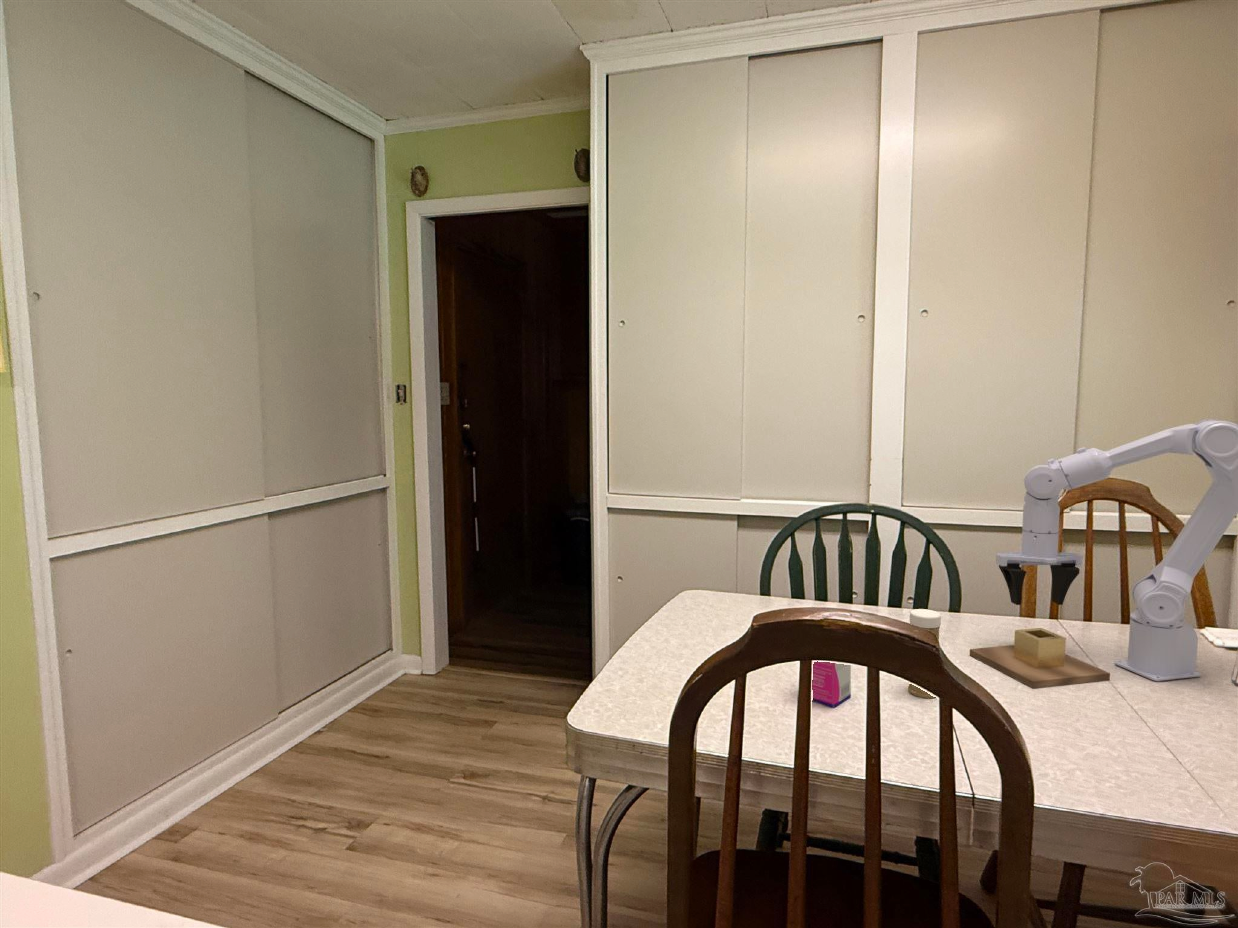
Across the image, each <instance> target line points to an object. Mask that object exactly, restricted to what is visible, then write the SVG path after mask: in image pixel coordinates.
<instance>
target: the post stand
mask: <svg viewBox="0 0 1238 928" xmlns="http://www.w3.org/2000/svg"><path fill="white" fill-rule="evenodd" d="M1038 638H1039V637H1038ZM969 656H970V657H972V658H974V659H975V660H977V659H978V661H979V662H982V663H984V664H986V665H987V666H989V667H990V668H993V669H994V670H997V671H999V672H1001V674H1005V675H1006V676H1008V677H1011V678H1012V679H1014V680H1016V681H1017V682H1020V683H1021V684H1023V685H1026V686H1027V687H1029V688H1031V689H1038V688H1040V689H1041V688H1049V687H1057V686H1058V687H1059V686H1067V685H1069V686H1070V685H1077V684H1085V683H1086V684H1087V683H1094V682H1095V683H1096V682H1103V681H1104V682H1105V681H1110V680H1111V673H1110V672H1109V671H1106V670H1105V669H1101V668H1099V667H1097V666H1095V665H1093V664H1090V663H1088V662H1085V661H1083V660H1080V659H1078V658H1076V657H1074V656H1072V655H1069V654H1066V653H1065V662H1064V666H1060V667H1050V668H1040V669H1037V668H1035V667H1033V666H1031V665H1029V664H1026V663H1024V662H1022V661H1020V660H1018V659H1016V658H1014V644H1011V645H1010V644H1009V645H998V646H989V647H978V648H976V647H975V648H970V649H969Z"/></svg>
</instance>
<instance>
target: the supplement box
mask: <svg viewBox="0 0 1238 928" xmlns="http://www.w3.org/2000/svg"><path fill="white" fill-rule="evenodd" d="M851 666H852V665H844V664H836V663H830V662H818V661H817V662H814V664H813V680H812V690H813V701H812V702H814V703H817V704H820V705H823V706H826V707H830V708H831V709H835V708H836V707H837V706H839V705H840V704H843V703H844V702H846V701H847V700H849V699H851V697H852V695H851V689H852V687H851V686H852V685H851V679H852V678H851V674H852V673H851V672H852V671H851Z"/></svg>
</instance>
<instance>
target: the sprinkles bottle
mask: <svg viewBox="0 0 1238 928" xmlns="http://www.w3.org/2000/svg"><path fill="white" fill-rule="evenodd" d="M941 623H942V615H941V614H940V613H939V612H938V611H935V610H932V609H925V608H918V609H917V608H915V609H912V610H910V612H909V625H910V624H912V625H914V626H918V627H921V628H923V629H926V630H929V631H930V632H933V633H934V634H935V635H936V636H937V638H938V639H939V640H940V628H941ZM907 687H908V688H907V691H908V692H909V693H910V694H911V695H913V696H914V697H919V698H923V699H924V698H925V699H931V698H934V697H933V696H931V695H930V694H928V693H927V692H925V691H923V690H921V689H920V688H918V687H916V686H914V685H912V684H909V683H908V686H907Z"/></svg>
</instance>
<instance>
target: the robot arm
mask: <svg viewBox="0 0 1238 928" xmlns="http://www.w3.org/2000/svg"><path fill="white" fill-rule="evenodd" d="M1169 453H1170V454H1178V455H1179V454H1181V455H1186V456H1187V455H1189V456H1190V455H1191V456H1193V455H1194V454H1195V455H1196V456H1197V457H1198V458H1199V459H1200V460H1201V461H1202V462H1203V463H1204V466H1205V467H1206V469H1207V472H1208V473H1209V474H1210V476H1211V479H1212V483H1211V484H1210V486H1209V487H1208V489H1207V490H1206V491H1205V494H1204V495H1203V496H1202V498H1201V499H1200V501H1199V503H1198V504H1197V506H1196V508H1195V509H1194V510H1193V512H1192V513H1191V515H1190V517H1189V518H1188V520H1187V522H1186V523H1184V526H1183V528H1182V529H1181V531H1180V532H1179V534H1178V535H1177V536H1176V538H1175V539H1174V541H1173V543H1172V544H1171V546H1170V547H1169V549H1168V551H1167V552H1166V553H1165V555H1164V557H1163V558H1162V560H1161V562H1159V563H1158V564H1157V565H1155V566H1154V567H1153V568H1152V570H1151V571H1150V572H1149V574H1148V575H1146V576H1144V578H1142V579H1140V580H1138V581H1137V582H1136V583H1135V584H1134V585H1133V586H1132V587H1133V588H1132V591H1131V596H1132V599H1133V601H1134V603H1135V604H1136V606H1137V607H1136V609H1135V610H1134V611H1133V612H1131V613H1130V619H1129V630H1128V631H1129V634H1128V646H1127V647H1128V649H1127V659H1124V660H1115V661H1113V662H1114V664H1115V665H1116V666H1118V667H1121V668H1123V669H1125V670H1128V671H1130V672H1132V673H1135V674H1138V675H1140V676H1141V677H1144V678H1147V679H1150V680H1151V681H1155V682H1161V681H1170V680H1177V679H1179V680H1180V679H1188V678H1189V679H1190V678H1197V677H1201V673H1200V672H1198V671H1196V669H1197V658H1198V646H1199V645H1198V643H1199V639H1198V633H1197V631H1196V630H1195V628H1194V627H1193V626H1192V625H1191V624H1190V623H1189V622H1187V621H1185V620H1183V618H1184V615H1185V614H1186V601H1187V599H1188V597H1189V596H1190V595H1191V591H1192V587H1193V583H1194V580H1195V577H1196V576H1197V574H1198V573H1199V571H1200V570H1201V569H1202V567H1203V566H1204V564H1205V563H1206V561H1207V559H1208V558H1209V557H1210V556H1211V553H1212V552H1213V550H1214V549H1215V547H1216V546H1217V544H1219V542H1220V540H1221V538H1222V537H1223V535H1224V534H1225V533H1226V531H1227V530H1228V528H1229V527H1230V525H1231V524H1232V522H1233V521H1234V519H1235V518H1236V516H1237V515H1238V424H1236V423H1234V422H1231V421H1225V420H1219V419H1214V418H1213V419H1212V418H1209V419H1202V420H1201V421H1198V422H1196V423H1187V424H1183V425H1179V426H1175V427H1171V428H1166V429H1164V430H1161V431H1158V432H1155V433H1153V434H1149V435H1147V436H1144V437H1142V438H1141V437H1140V438H1139V439H1136V440H1133V441H1131V442H1127V443H1125V444H1123V445H1120V446H1117V447H1114V448H1112V449H1109V450H1106V451H1105V450H1101V449H1099V448H1096V447H1091V448H1088V449H1086V447H1085V446H1083V447H1080V448H1078V449H1076V453H1074V454H1071V455H1067V456H1064V457H1062V458H1059V459H1055V458H1050V459H1048V460H1047V463H1048V465H1047V464H1037V465H1035V466H1033V467H1031V468H1030V469H1029V470H1028V471H1027V472H1026V474H1025V477H1024V478H1023V482H1024V484H1023V485H1024V488H1025V490H1026V492H1025V494H1024V502H1025V503H1024V504H1023V507H1022V509H1023V510H1022V528H1021V529H1022V532H1021V550H1020V551H1015V552H1014V551H1013V552H1005V553H1003V552H1002V553H996V559H995V560H996V561H995V564H996V565H998V568H999V570H1000V572H1001V574H1002V576H1003V578H1004V580H1005V582H1006V586H1007V589H1008V594H1009V598H1010V603H1012V604H1014V605H1016V606H1021V605H1022V600H1023V599H1022V598H1023V597H1022V596H1023V585H1024V580H1025V577H1026V574H1027V571H1026V570H1024V569H1022V567H1021V566H1049V567H1050V573H1051V581H1052V585H1051V586H1052V588H1051V589H1052V590H1051V600H1052V602H1053V603H1054V604H1056V605H1059V606H1063V605H1064V601H1065V598H1066V595H1067V594H1068V591H1069V589H1070V587H1071V586H1072V584H1073V582H1074V581H1075V580H1076V578H1077V577H1078V576H1079V575H1080V569H1081V568H1080V567H1081V566H1083V555H1082V554H1080V553H1079V554H1078V553H1076V552H1058V551H1059V550H1058V549H1059V535H1060V534H1059V533H1060V532H1059V531H1060V513H1061V507H1060V506H1059V499H1060V498H1059V496H1060V493H1061V492H1062V490H1067V491H1071V490H1073V489H1078V488H1080V487H1084V486H1086V485H1089V484H1093V483H1095V482H1096V483H1097V482H1100V481H1103V480H1106V479H1108V478H1109V477H1110V475H1111V473H1112V471H1113V470H1114V469H1115V468H1119V467H1122V466H1126V465H1130V464H1132V463H1136V462H1139V461H1143V460H1147V459H1150V458H1153V457H1157V456H1160V455H1164V454H1169Z"/></svg>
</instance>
